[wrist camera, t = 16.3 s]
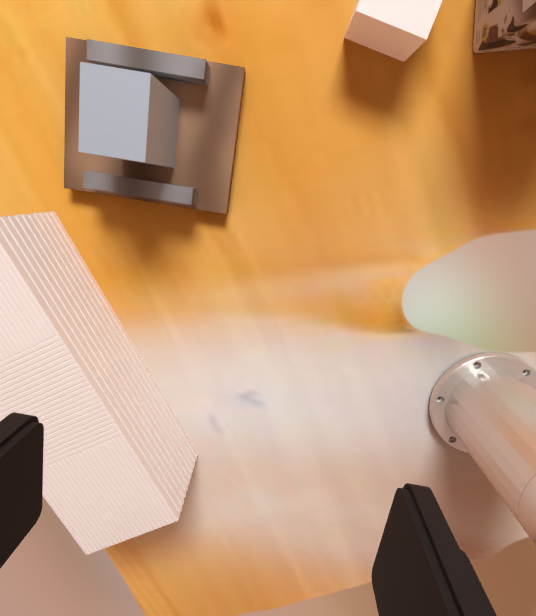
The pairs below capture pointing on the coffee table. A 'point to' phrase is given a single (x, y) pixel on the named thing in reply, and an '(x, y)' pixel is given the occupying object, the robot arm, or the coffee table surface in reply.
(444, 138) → the coffee table surface
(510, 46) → the coffee box
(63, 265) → the stack of papers
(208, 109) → the display stand
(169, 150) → the slate block
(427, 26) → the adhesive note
